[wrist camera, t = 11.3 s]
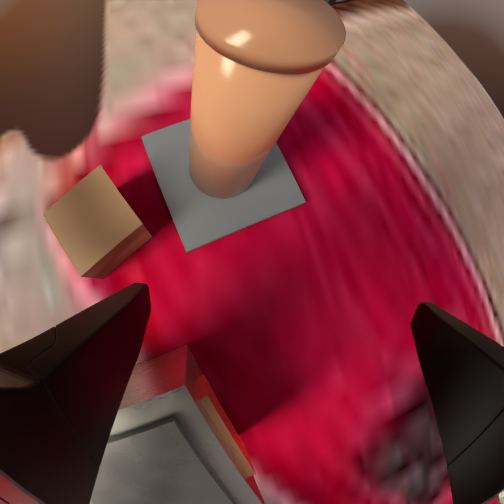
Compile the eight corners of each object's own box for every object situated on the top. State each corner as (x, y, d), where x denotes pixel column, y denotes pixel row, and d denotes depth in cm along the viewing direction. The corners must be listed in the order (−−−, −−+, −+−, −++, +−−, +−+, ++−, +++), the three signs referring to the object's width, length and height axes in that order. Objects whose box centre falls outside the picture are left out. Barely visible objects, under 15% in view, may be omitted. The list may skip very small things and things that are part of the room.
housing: (144, 470, 17) (129, 554, 8) (88, 383, 17) (29, 441, 8) (242, 433, 19) (278, 514, 10) (192, 341, 19) (194, 385, 10)
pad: (186, 253, 20) (186, 251, 19) (142, 141, 20) (141, 136, 19) (301, 204, 22) (305, 201, 21) (251, 105, 22) (253, 100, 22)
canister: (217, 214, 20) (271, 82, 7) (173, 162, 20) (166, -4, 6) (270, 173, 21) (371, 39, 8) (226, 126, 21) (275, -32, 7)
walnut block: (103, 279, 19) (81, 276, 14) (69, 228, 19) (42, 214, 14) (152, 237, 20) (142, 223, 15) (116, 188, 20) (100, 164, 15)
